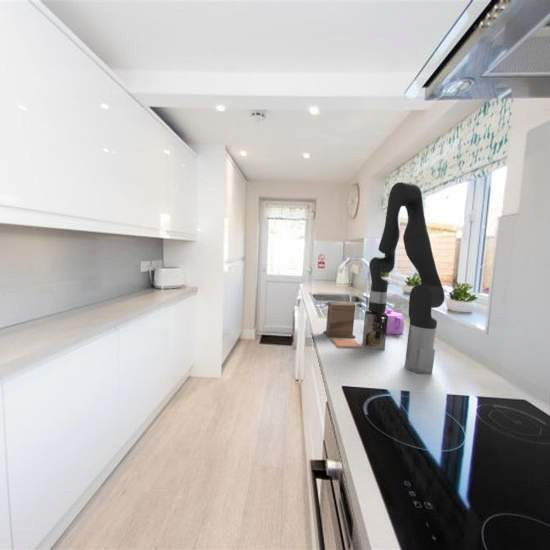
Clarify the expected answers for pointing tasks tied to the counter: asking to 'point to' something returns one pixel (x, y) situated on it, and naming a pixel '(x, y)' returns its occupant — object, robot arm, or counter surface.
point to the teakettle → (394, 323)
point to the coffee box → (373, 331)
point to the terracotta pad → (346, 343)
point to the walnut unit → (340, 320)
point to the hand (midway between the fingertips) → (374, 336)
